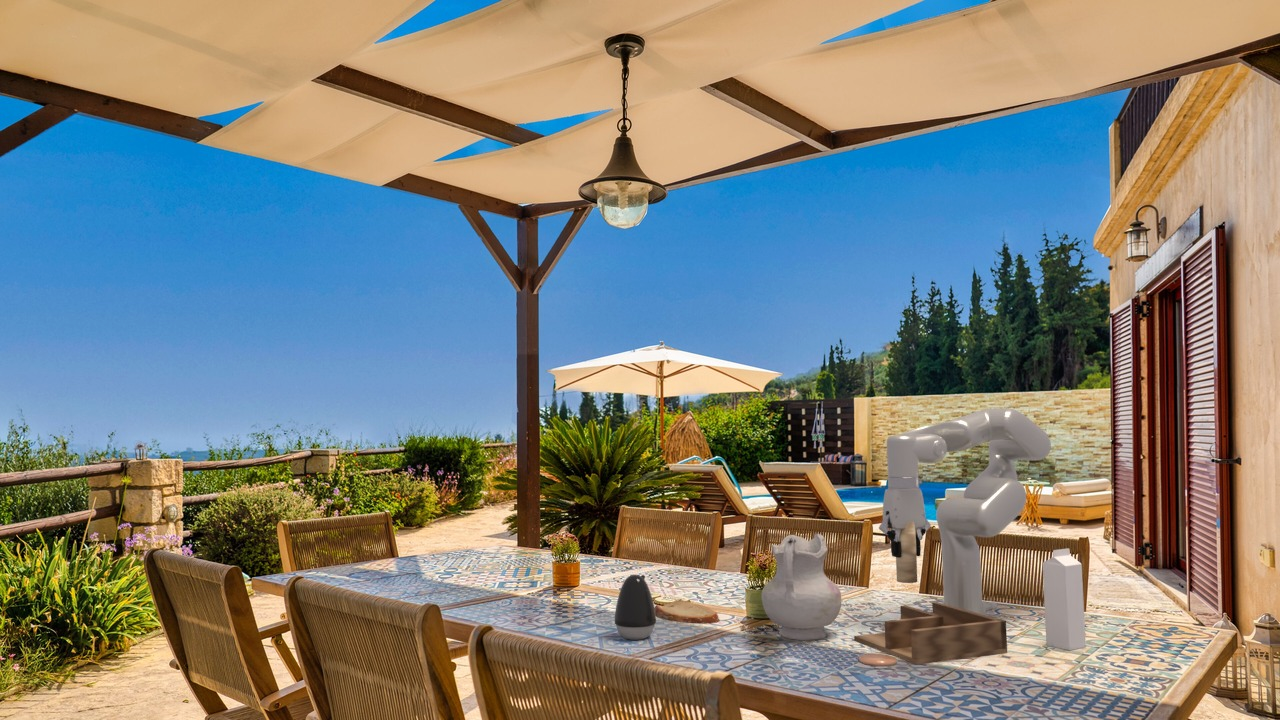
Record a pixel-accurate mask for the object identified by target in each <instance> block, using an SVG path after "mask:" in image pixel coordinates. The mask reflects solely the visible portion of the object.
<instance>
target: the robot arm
mask: <svg viewBox="0 0 1280 720" xmlns="http://www.w3.org/2000/svg"><path fill="white" fill-rule="evenodd" d="M987 442H988V457H989V459H988V460H989V462H988V466H987V467H986V468H985V469H984V470H983V471H981V473H980V474H979V475H977V476H976V477H975V478H974V479H973V480H972V481H971V482H969V484H968V485H967V486H966V487H965V489H964V493H963V497H949V498H945V499H944V500H942V501H941V502H940V503H939V505H938V506H937V509H936V515H935V516H936V521H937V526H938V529H939V530H938V531H939V536H940V543H941V557H942V559H941V560H942V562H941V563H942V583H943V584H942V585H943V587H942V589H943V604H946V605H949V606H953V607H957V608H960V609H964V610H967V611H971V612H975V613H978V614H982V615H986V616H989V617H990V615H989V614H988V613H987V612H988V611H995V610H997V609H998V604H997V603H996V602H994V601H993V602H992V601H991V602H986V601H984V600H983V591H982V587H983V586H982V569H981V567H982V566H981V565H982V564H981V551H980V547H979V545H978V542H977V540H976V538H975V537H980V538H993V537H996V536H998V535H999V534H1000V533H1002V531H1004V530H1005V529H1006V528H1007V527H1008V526H1009V525H1010V524H1011V523H1012V522H1013V521H1014V520H1016V518H1017V517H1018V516H1019V515H1020V514H1021V513H1022V511H1023V510H1024V509H1025V508H1024V507H1025V506H1026V503H1027V491H1026V489H1025V487H1024V485H1023V484H1022V483H1021V482H1020V481H1018V473H1017V471H1016V468H1015V466H1014V461H1041V460H1044V459H1045V458H1046V457H1047V456H1048V455H1049V454H1050V452H1051V448H1052V446H1051V444H1052V443H1051V440H1050V437H1049V435H1048V434H1047V432H1045V430H1044V429H1042V428H1041V426H1038V424H1036V423H1035V422H1034V421H1032V419H1030V418H1029V417H1027V416H1026V415H1025V414H1023V413H1022V412H1021V411H1019V410H1017V409H1014V408H987V409H986V408H985V409H980V410H978V411H975V412H971V413H970V414H967V415H964V416H961V417H957V418H955V419H951V420H947V421H942V422H938V423H936V424H935V423H934V424H930V425H925V426H921V427H917V428H915V429H911V430H908V431H906V432H903V433H901V434H899V435H898V434H897V435H895V434H894V435H890V436H889V437H888V438H887V439H886V457H887V458H886V461H887V486H888V488H887V489H886V488H885V491H884V495H883V502H882V521H881V523H880V525H879V527H878V529H879V531H880V532H881V533H883V534H884V535H885V536H886V538H888V540H889V541H890V550H891V551H890V552H891V556H892V557H893V558H896V557H898V558H901V542H900V541H899V536H900V531H901V529H904V528H905V526H906V523H907V522H914V525H915V530H916V556H917V557H921V556H922V555H921V550H922V548H921V541H922V540H923V537H924V535H925V534H926V532H927V531H928V530H929V529H930V528H931V527H932V526H931V523H930V522H929V520H928V519H927V517H926V510H925V509H926V508H925V504H924V503H925V502H924V496H923V492H922V489H921V488H920V485H921V484H922V483H923V480H922V478H919V463H921V464H935V463H939V462H941V461H942V460H943V459H944V458H945V457H946V455H947V453H951V452H953V453H955V452H961V451H966V450H969V449H971V448H973V447H976V446H980V445H981V444H985V443H987Z"/></svg>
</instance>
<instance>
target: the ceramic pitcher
mask: <svg viewBox="0 0 1280 720" xmlns="http://www.w3.org/2000/svg"><path fill="white" fill-rule="evenodd" d="M813 536H814V537H813V538H812V539H810V540H807V539H806V538H804V537H803V536H797V535H795V534H789V535H786V536H785V537H784V538H783V539H782V541H781V543H780V544H779V545H777V544H772V546H771V551H772V552H771V553H772V554H773V556H774V559H775V561H776V573H775V575H774V576H773V577H772V578H771V579H770V580H769V581H768V582H766V584H765V585H764V587H763V588H762V591H761V594H760V595H761V603H762V607H763V609H764V612H765V614H766V616H767V617H768V618H769V620H770V621H771V622H772V623H774V624H776V625H778V626H781V627H782V628H781V629H779V632H778V633H777V634H778V635H780V636H782V637H783V638H785V639H788V640H796V641H797V640H798V641H812V640H823V639H824V638H825V637H826V636H827V633H826V631H825V629H824V628H825V627H827V626H830V625H831V624H832V623H834V621H836V619H837V618H838V616H839V614H840V612H841V608H842V593H841V590H840V588H839V586H838V585H837V584H836V583H835V582H833V581H832V580H831V579H829V577H827V575H826V574H825V572H824V571H825V570H824V564H825V560H826V556H827V553H828V550H829V549H828V547H827V542H826V537H824V536H823V534H820V533H816V532H814V534H813Z"/></svg>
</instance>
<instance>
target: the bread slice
mask: <svg viewBox="0 0 1280 720" xmlns="http://www.w3.org/2000/svg"><path fill="white" fill-rule="evenodd" d="M654 608H655V615H656V618H659V619H661V620H665V621H671V622H676V623H682V624H683V623H684V624H697V625H698V624H700V625H701V624H717V623H719V622H721V621H720V618H719V615H718V613H717V611H716V610H714V609H712V608H709V607H707V606H705V605H702V604H698V603H694V602H690V601H687V600H684V599H683V600H682V598H680V599H677V600H673V601H671V602H669V603H666V604H664V605H662V606H661V605H659V604H656V605H654Z"/></svg>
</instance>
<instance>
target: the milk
mask: <svg viewBox="0 0 1280 720" xmlns="http://www.w3.org/2000/svg"><path fill="white" fill-rule="evenodd" d="M1070 550H1071V549H1070V548H1068V547H1067V548H1062V549H1061V548H1060V549H1053V551H1052V557H1051V558H1049V559H1047V560H1045V561H1043V562H1042V577H1043V578H1042V580H1043V582H1042V583H1043V600H1044V622H1045V638H1046V639H1045V640H1046V641H1045V642H1046V643H1045V645H1046V646H1049V647H1052V648H1057V649H1061V650H1065V651H1074V650H1079V649H1084V648H1086V647H1087V645H1086V644H1087V643H1086V640H1087V639H1086V625H1085V621H1086V620H1085V606H1084V605H1085V604H1084V586H1083V585H1084V583H1083V567H1082V566H1083V565H1082V563H1081V562H1080V561H1078V560H1077V559H1076V558H1074V557H1073V556H1072V555H1071V553H1070Z"/></svg>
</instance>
